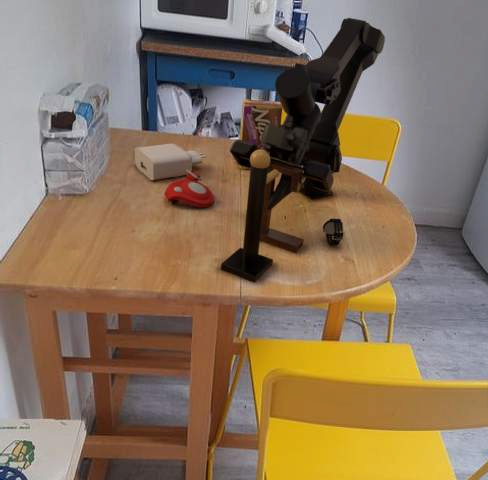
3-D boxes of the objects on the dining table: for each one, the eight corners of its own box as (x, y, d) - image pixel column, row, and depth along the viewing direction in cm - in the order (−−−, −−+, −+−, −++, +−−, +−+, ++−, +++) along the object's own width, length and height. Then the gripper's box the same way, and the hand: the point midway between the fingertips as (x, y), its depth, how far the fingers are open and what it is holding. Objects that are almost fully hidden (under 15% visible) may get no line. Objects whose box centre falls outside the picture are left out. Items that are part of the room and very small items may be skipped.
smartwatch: (343, 240, 95) (348, 216, 92) (339, 253, 91) (344, 229, 88) (321, 235, 96) (326, 212, 93) (317, 248, 91) (321, 224, 89)
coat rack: (250, 243, 90) (261, 134, 79) (282, 255, 88) (298, 144, 77) (220, 269, 82) (228, 152, 71) (254, 283, 80) (268, 163, 69)
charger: (214, 172, 115) (153, 182, 107) (194, 158, 121) (135, 166, 112) (215, 152, 112) (152, 161, 104) (194, 138, 118) (134, 146, 110)
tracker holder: (224, 201, 100) (179, 197, 94) (215, 218, 103) (172, 215, 97) (200, 165, 107) (157, 159, 101) (193, 182, 109) (151, 177, 103)
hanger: (259, 231, 94) (267, 157, 86) (303, 245, 92) (315, 171, 83) (251, 237, 92) (259, 162, 84) (295, 253, 89) (308, 177, 81)
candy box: (273, 163, 123) (280, 100, 115) (276, 170, 120) (284, 106, 111) (237, 162, 121) (242, 98, 113) (239, 169, 118) (244, 103, 109)
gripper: (238, 92, 86) (201, 172, 83) (340, 118, 80) (303, 205, 77) (255, 127, 96) (222, 199, 94) (347, 152, 90) (314, 229, 88)
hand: (263, 207), depth 88 cm, fingers closed
